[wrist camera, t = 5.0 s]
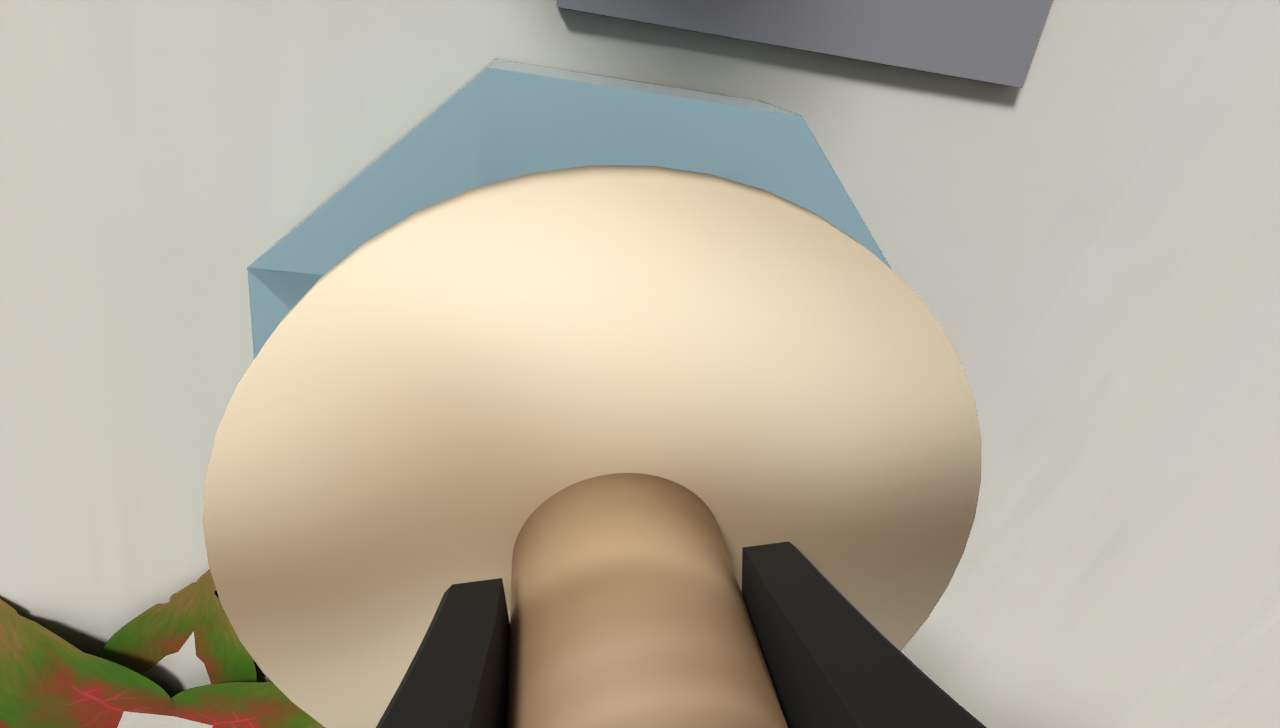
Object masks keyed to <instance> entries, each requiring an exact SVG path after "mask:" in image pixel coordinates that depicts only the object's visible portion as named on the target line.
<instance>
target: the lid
mask: <svg viewBox="0 0 1280 728" xmlns="http://www.w3.org/2000/svg"><path fill="white" fill-rule="evenodd" d="M980 483H981V436H980V429H979V423H978V417H977V410H976V404H975V400H974V397H973V394H972V391H971V388H970V385H969V382H968V379H967V376H966V373H965V370H964V367H963V364H962V362H961V360H960V358H959V357H958V355H957V353H956V351H955V349H954V347H953V346H952V344H951V342H950V340H949V338H948V336H947V335H946V333H945V331H944V329H943V327H942V325H941V324H940V323H939V322H938V320H937V319H936V318H935V317H934V315H933V314H932V313H931V311H930V310H929V309H928V308H927V306H926V305H925V304H924V303H923V301H922V300H921V299H920V298H919V296H918V295H917V294H916V293H915V291H914V290H913V289H912V288H911V287H910V286H909V285H908V284H907V283H905V282H904V281H903V280H902V279H901V278H900V277H899V276H898V275H897V274H895V273H894V272H893V271H892V270H891V269H890V268H889V267H888V266H887V265H885V264H884V263H883V262H882V261H881V260H880V259H879V258H878V257H877V256H875V255H874V254H873V253H872V252H870V251H869V250H868V249H866V248H865V247H864V246H863V245H861V244H860V243H859V242H858V241H856V240H855V239H854V238H852V237H851V236H849V235H848V234H846V233H845V232H843V231H841V230H840V229H838V228H837V227H835V226H834V225H832V224H831V223H829V222H828V221H826V220H825V219H823V218H821V217H820V216H818V215H817V214H815V213H814V212H812V211H810V210H808V209H806V208H804V207H801V206H799V205H797V204H795V203H793V202H790V201H788V200H786V199H784V198H782V197H779V196H777V195H775V194H773V193H770V192H768V191H766V190H764V189H760V188H757V187H754V186H750V185H747V184H743V183H740V182H736V181H733V180H729V179H726V178H722V177H719V176H716V175H712V174H707V173H700V172H693V171H686V170H679V169H672V168H665V167H658V166H630V165H590V166H582V167H574V168H566V169H558V170H550V171H542V172H534V173H529V174H525V175H522V176H518V177H514V178H510V179H506V180H503V181H499V182H495V183H491V184H487V185H484V186H480V187H476V188H472V189H470V190H468V191H465V192H463V193H460V194H458V195H455V196H453V197H451V198H448V199H446V200H443V201H441V202H438V203H436V204H434V205H431V206H429V207H426V208H424V209H422V210H419V211H417V212H415V213H413V214H412V215H410V216H408V217H406V218H405V219H403V220H401V221H400V222H398V223H396V224H395V225H393V226H391V227H389V228H388V229H386V230H384V231H383V232H381V233H379V234H377V235H376V236H374V237H372V238H371V239H369V240H367V241H366V242H364V243H363V244H362V245H361V246H359V247H358V248H357V249H356V250H354V251H353V252H352V253H351V254H349V255H348V256H347V257H346V258H344V259H343V260H342V261H341V262H339V263H338V264H337V265H336V266H334V267H333V268H332V269H331V270H329V271H328V272H327V273H326V274H324V275H323V276H322V277H321V278H320V279H319V280H318V281H317V282H316V283H315V284H314V285H313V287H312V288H311V289H310V290H309V291H308V292H307V293H306V294H305V295H304V296H303V297H302V298H301V300H300V301H299V302H298V303H297V304H296V305H295V306H294V307H293V308H292V309H291V310H290V311H289V313H288V314H287V315H286V316H285V317H284V318H283V320H282V321H281V322H280V324H279V325H278V326H277V328H276V329H275V331H274V332H273V333H272V335H271V336H270V337H269V339H268V340H267V341H266V343H265V344H264V346H263V347H262V349H261V350H260V352H259V353H258V355H257V356H256V358H255V359H254V361H253V362H252V364H251V365H250V367H249V368H248V370H247V371H246V373H245V374H244V376H243V378H242V379H241V381H240V382H239V384H238V385H237V387H236V389H235V391H234V394H233V396H232V398H231V400H230V403H229V405H228V407H227V410H226V412H225V414H224V416H223V419H222V421H221V423H220V425H219V428H218V430H217V432H216V437H215V441H214V445H213V449H212V453H211V457H210V461H209V466H208V470H207V474H206V478H205V496H204V515H203V526H204V534H205V541H206V549H207V557H208V564H209V568H210V571H211V574H212V577H213V581H214V584H215V587H216V590H217V593H218V596H219V599H220V603H221V605H222V607H223V609H224V611H225V613H226V615H227V617H228V619H229V621H230V623H231V625H232V627H233V629H234V630H235V632H236V634H237V636H238V638H239V640H240V642H241V643H242V644H243V646H244V647H245V649H246V650H247V651H248V653H249V654H250V655H251V657H252V658H253V659H254V661H255V662H256V663H257V665H258V666H259V668H260V669H261V670H262V672H263V673H264V674H265V675H266V676H267V677H268V678H269V679H270V680H271V681H272V682H273V683H274V684H275V685H276V686H277V687H278V688H279V689H280V690H281V691H282V692H283V693H284V694H285V695H286V696H287V697H288V698H289V699H290V700H291V701H292V702H293V703H294V704H295V705H297V706H298V707H299V708H301V709H302V710H303V711H304V712H306V713H307V714H308V715H310V716H311V717H312V718H314V719H315V720H316V721H317V722H319V723H320V724H321V725H323V726H324V727H326V728H376V726H377V724H378V723H379V721H380V719H381V717H382V716H383V714H384V712H385V710H386V708H387V707H388V705H389V703H390V701H391V699H392V698H393V696H394V694H395V692H396V691H397V689H398V687H399V685H400V683H401V681H402V679H403V678H404V676H405V674H406V672H407V670H408V668H409V666H410V664H411V662H412V660H413V658H414V656H415V654H416V652H417V650H418V648H419V646H420V644H421V642H422V640H423V638H424V636H425V634H426V632H427V630H428V628H429V626H430V624H431V622H432V619H433V617H434V615H435V613H436V611H437V608H438V606H439V604H440V602H441V599H442V597H443V595H444V593H445V592H446V590H447V589H448V588H449V587H450V586H451V585H452V584H459V583H467V582H475V581H483V580H490V579H498V578H502V580H503V586H504V592H505V598H506V604H507V609H508V615H509V621H510V644H509V675H508V701H507V726H506V728H788V726H787V723H786V720H785V717H784V714H783V711H782V708H781V705H780V702H779V700H778V697H777V694H776V691H775V688H774V685H773V682H772V679H771V676H770V673H769V671H768V668H767V665H766V662H765V659H764V656H763V653H762V650H761V647H760V645H759V642H758V639H757V636H756V633H755V630H754V627H753V624H752V621H751V619H750V616H749V613H748V610H747V607H746V604H745V601H744V598H743V595H742V547H749V546H757V545H765V544H773V543H781V542H788V541H789V542H790V543H792V544H793V545H794V546H795V547H796V548H797V549H798V550H799V551H800V552H801V553H802V554H803V555H804V556H805V557H806V558H807V559H808V560H809V561H810V562H811V563H812V564H813V565H814V566H815V567H816V568H817V569H818V571H819V572H820V573H821V574H822V575H823V576H824V577H825V578H826V579H827V580H828V581H829V582H830V583H831V584H832V585H833V586H834V587H835V588H836V589H837V590H838V591H839V592H840V593H841V594H842V595H843V596H844V597H845V598H846V599H847V600H848V601H849V602H850V603H851V604H852V605H853V606H854V607H855V608H856V609H857V610H858V611H859V612H860V613H861V614H862V615H863V616H864V617H865V618H866V619H867V620H868V621H869V622H870V623H871V624H872V625H873V626H874V627H875V628H876V629H877V630H878V631H879V632H880V633H881V634H882V635H883V636H884V637H886V638H887V639H888V640H889V641H890V642H891V643H892V644H893V645H894V646H895V647H896V648H897V649H898V650H899V651H901V650H902V649H903V648H904V647H905V646H906V644H907V643H908V642H909V641H910V639H911V638H912V637H913V636H914V634H915V633H916V632H917V631H918V629H919V628H920V627H921V626H922V625H923V623H924V622H925V621H926V620H927V618H928V617H929V615H930V613H931V612H932V610H933V609H934V607H935V606H936V604H937V602H938V601H939V599H940V598H941V596H942V595H943V593H944V591H945V590H946V588H947V587H948V584H949V582H950V580H951V578H952V576H953V574H954V572H955V570H956V568H957V565H958V563H959V561H960V559H961V557H962V555H963V553H964V550H965V546H966V543H967V540H968V537H969V534H970V531H971V528H972V525H973V521H974V518H975V513H976V507H977V501H978V495H979V489H980Z"/></svg>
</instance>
